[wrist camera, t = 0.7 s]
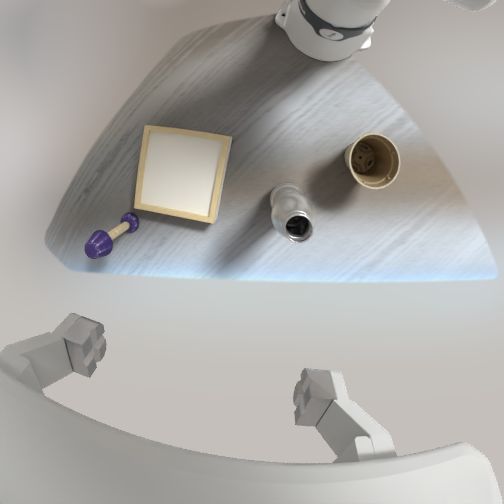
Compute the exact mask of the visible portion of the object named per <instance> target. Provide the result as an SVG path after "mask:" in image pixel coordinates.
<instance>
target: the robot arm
mask: <svg viewBox="0 0 504 504" xmlns="http://www.w3.org/2000/svg"><path fill="white" fill-rule="evenodd" d="M443 1H445V2H448V3H450V4H452V5H454V6H456V7H458V8H460V9H463V10H465V11H479V10H483V9H486V8H488V7H490V6H491V5H493V4H494V3H495V2H496V1H497V0H443ZM389 2H390V0H285V1H284V3H283V5H282V7H281V8H280V10H279V12H278V14H277V15H276V18H275V22H276V24H277V25H279V26H280V27H281V28H282V29H284V30H285V32H286V33H287V35H288V37H289V39H290V40H291V42H292V43H293V44H294V46H295V47H296V48H297V49H299V50H300V51H301V52H302V53H304V54H306V55H307V56H309V57H312V58H314V59H317V60H322V61H339V60H343V59H345V58H347V57H349V56H351V55H352V54H353V53H355V52H356V51H359V50H365V49H368V48H369V47H370V45H371V42H370V36H371V35H372V33H373V29H372V25H373V23H374V21H375V19H376V17H377V15H378V14H379V12H381V11H382V10H383V9H384V8H385V7H386V6H387V5H388V3H389ZM282 15H286V16H282ZM103 333H104V326H103V324H101V323H99V322H96V321H93V320H91V319H88V318H86V317H83V316H80V315H77V314H75V313H71V314H69V316H68V317H67V318H66V319H65V320H64V321H63V322H62V323H61V324H60V325H59V326H58V327H57V328H56V329H55V330H54V331H53V332H52V333H50V332H48V333H45V334H42V335H39V336H35V337H32V338H29V339H26V340H23V341H20V342H16V343H13V344H10V345H7V346H6V347H5V348H4V349H3V350H2V351H1V352H0V504H503V502H502V498H501V494H500V491H499V487H498V483H497V480H496V477H495V474H494V472H493V469H492V466H491V464H490V462H489V460H488V459H487V457H486V456H484V455H483V454H482V453H481V452H480V451H478V450H477V449H476V448H474V447H473V446H472V445H470V444H468V443H466V442H459V443H455V444H451V445H448V446H444V447H441V448H436V449H432V450H428V451H424V452H420V453H414V454H409V455H404V456H398V457H397V455H396V452H395V448H394V445H393V442H392V439H391V436H390V433H388V432H387V431H386V430H385V429H384V428H383V427H382V426H380V425H379V424H378V423H377V422H376V421H375V420H374V419H372V417H371V416H369V415H368V414H367V413H366V412H365V411H364V410H363V409H362V408H360V407H359V406H358V405H357V404H356V403H355V402H354V401H353V400H349V396H348V393H347V390H346V386H345V383H344V379H343V376H342V373H341V372H340V371H331V370H318V369H308V368H304V370H303V371H302V373H301V380H300V381H298V382H297V384H296V386H295V390H294V396H293V402H294V405H295V406H296V407H297V408H296V410H295V412H294V414H295V425H302V426H315V427H316V429H317V430H318V432H319V433H320V434H321V435H322V437H323V438H324V440H325V441H326V442H327V443H328V445H329V446H330V447H331V449H332V450H333V451H334V453H335V454H336V455H337V456H338V458H337V459H336V460H335V461H334V462H333V463H318V464H317V463H316V464H315V463H313V464H312V463H311V464H309V463H277V462H264V461H254V460H244V459H237V458H230V457H223V456H217V455H212V454H206V453H200V452H196V451H191V450H187V449H183V448H178V447H174V446H171V445H166V444H162V443H159V442H155V441H152V440H149V439H145V438H143V437H139V436H136V435H133V434H130V433H127V432H125V431H122V430H119V429H116V428H114V427H111V426H108V425H106V424H103V423H101V422H98V421H96V420H94V419H91V418H89V417H87V416H85V415H82V414H80V413H78V412H76V411H74V410H72V409H69V408H67V407H65V406H63V405H61V404H59V403H58V402H55V401H54V400H52V399H50V398H48V397H46V396H45V395H44V393H43V391H42V389H43V388H45V387H47V386H49V385H51V384H53V383H54V382H56V381H58V380H60V379H62V378H63V377H65V376H67V375H69V374H71V373H72V372H73V371H74V372H76V373H79V374H82V375H84V376H87V377H89V378H90V377H91V375H92V374H93V372H94V371H95V369H96V362H98V361H101V359H102V358H103V356H104V354H105V351H106V340H105V338H104V337H103V335H102V334H103Z"/></svg>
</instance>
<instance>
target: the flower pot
mask: <svg viewBox="0 0 504 504" xmlns="http://www.w3.org/2000/svg"><path fill="white" fill-rule="evenodd" d="M362 145H364V146H366V147H367V149H366V148H364V147H362ZM359 157H361V159H360V158H359ZM370 160H371V161H372V162H371V164H370V166H368V163H369V161H370ZM345 162H346V165H347V167H348V168H349V169H350V171H351V173H352V175H353V177H354V178H355V179H356V180H357V181H358V182H359V183H360V184H361V185H363V186H364V187H367V188H369V189H381V188H385V187H387V186H388V185H390V184H391V183H392V182H393V181H394V180H395V178H396V177H397V175H398V172H399V169H400V155H399V152H398V149H397V147H396V146H395V144H394V143H393V142H392V141H391V140H390V139H389V138H387V137H386V136H384V135H382V134H378V133H368V134H365V135H363V136H361V137H359V138H358V139H357V140H356V141H355V142H354V143H352V144H350V145H349V146H348V147H347V149H346V151H345ZM353 167H355V168H356V169H357V170H356V169H354V168H353Z"/></svg>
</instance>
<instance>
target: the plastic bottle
mask: <svg viewBox="0 0 504 504" xmlns="http://www.w3.org/2000/svg"><path fill="white" fill-rule="evenodd" d="M270 204H271V207H272V213H271V219H272V224H273V226H274V228H275V230H276V231H277V232H278V233H279V234H280V235H282V236H283V237H285V238H288V239H289V240H291V241H293V242H295V243H303V242H305V241H307V240H308V239H309V238H310V237H311V236H312V233H313V229H314V227H315V225H316V222H317V213H316V209H315V207H314V205H313V204H312V203H311V201H310V200H308V199H307V198H306V197H305V194H304V192H303V190H302V189H301V188H300V187H299V186H298V185H296V184H294V183H289V182H285V183H281V184H279V185H277V186H276V187H275V188H274V189H273V190H272V192H271V195H270Z"/></svg>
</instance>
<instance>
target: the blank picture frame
mask: <svg viewBox="0 0 504 504" xmlns="http://www.w3.org/2000/svg"><path fill="white" fill-rule="evenodd" d="M232 138H233V137H231V136H225V135H220V134H213V133H207V132H200V131H193V130H186V129H178V128H170V127H161V126H150V125H145V127H144V133H143V139H142V145H141V152H140V159H139V166H138V175H137V183H136V193H135V204H134V208H137V209H142V210H147V211H152V212H157V213H162V214H167V215H173V216H178V217H183V218H188V219H192V220H197V221H202V222H207V223H212V224H214V222H215V221H216V219H217V215H218V210H219V204H220V199H221V194H222V188H223V183H224V178H225V173H226V168H227V163H228V158H229V153H230V148H231V143H232Z"/></svg>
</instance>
